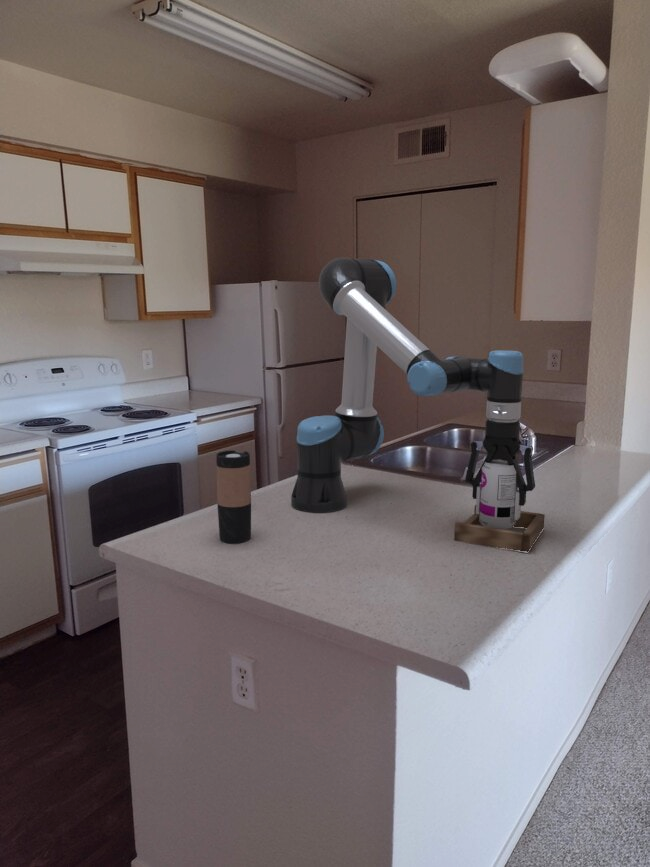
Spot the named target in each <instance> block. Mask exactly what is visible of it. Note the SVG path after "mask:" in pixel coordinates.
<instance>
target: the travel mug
mask: <svg viewBox="0 0 650 867" xmlns="http://www.w3.org/2000/svg"><path fill="white" fill-rule="evenodd" d="M215 458H216V459H215V460H216V497H217V498H216V499H217V502H216V503H217V518H218V530H219V531H218V533H219V540H220V541H221V543H222V542H223V543H226V544H235V545H236V544H242V543H245V542H248V541H250V540H251V536H252V535H251V534H252V490H251V489H252V488H251V487H252V486H251V484H252V483H251V480H252V479H251V460H250V459H251V454H250V453H249V451H247V450H246V451H245V450H244V451H243V452H237V451H236V450H233V449H232V450H224V451H219V452H217V453H216V457H215Z"/></svg>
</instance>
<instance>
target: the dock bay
mask: <svg viewBox="0 0 650 867" xmlns="http://www.w3.org/2000/svg"><path fill="white" fill-rule="evenodd" d="M473 510H474V511H473V512H474V513H473V514H472V515H471V516H470V517H469V518H468V519H467V520H466V521H465V522H460V521H456V522H455V523H454V538H453V539H454V541H456V542H461V543H467V544H472V545H473V544H474V545H478V546H483V547H488V546H490V547H489V548H493V547H498V548H497V549H499V548H505V549H506V548H507V549H513V550H520V551H527V552H528V551H529V549H530V548H531V546H532V545H533V543H534V542H535V540H536V539H537V537H538V536H539V534H540V532H541V531H542V529H543V528H544V527H545V515H546V514H545V513H544V514H543V513H539V512H538V513H537V512H531V511H525V510H521V512H520V518H519V519H518V520H516V524H515V525H514V527H524V528H527V529H526V530H525V529H524V532H520V531H515V530H510V529H497V528H491V527H485V526H483V525H479V524H480V523H481V522H480V521H479V516H480V514H476V504H475V505H474V509H473ZM539 537H540V536H539ZM537 540H538V539H537ZM535 543H536V542H535ZM533 546H534V545H533ZM531 549H532V548H531ZM529 552H530V551H529Z"/></svg>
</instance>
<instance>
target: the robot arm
mask: <svg viewBox="0 0 650 867" xmlns="http://www.w3.org/2000/svg"><path fill="white" fill-rule="evenodd" d="M318 290H319V293H320V295H321V298H322V299H323V300H324V302H325V303H326V305H327V306H328V307H329V308H330V309H331V310H332V311H333V312H334V313H336V314H337V315H339V316H345V317H346V330H345V344H344V357H343V358H344V359H343V360H344V361H343V373H342V375H343V376H342V388H341V389H342V390H341V402H340V405H339V406H338V407H337V408H335V413H334V415H327V414H325V415H320V416H318V415H316V416H311V417H308V418H305V419H303V420H302V421H299V424H298V426H297V435H296V447H297V448H296V452H297V453H296V454H297V459H296V460H297V468H296V469H297V478H296V480H295V483H294V487H293V489H292V493H291V498H290V501H291V502H290V505H291V507H292V508H294V509H296V510H299V511H301V512H302V511H303V512H309V513H330V512H336V511H340V510H343V509H345V507H347V506H348V494H347V492H346V491H347V490H346V489H345V486H344V482H343V479H342V471H341V470H342V463H344V462H347V461H352V460H356V459H363V458H366V457H368V456H371V455H373V454H375V453H376V452H377V451H378V450H379V449H380V448H381V446H382V444H383V442H384V437H385V432H384V426H383V425H382V424H381V423H382V421H381V420H380V418H378V411H377V410H376V409H375V408H374V407H373V401H374V388H375V375H376V362H377V361H376V360H377V350H378V349H379V350H381V351H382V352H383V353H384V354H385V355H386V356H387V357H388V358H389V359H390V360H391V361H392V362H393V363H395V365H397V366H398V367H399V368H400V369H401V370H402V371H403V372H404V373H405V374H406V375H407V384H408V386H409V388H410V390H411V391H412V392H413V393H414V394H416V395H417V396H420V397H421V396H422V397H426V396H427V397H428V396H429V397H432V396H433V397H435V396H438V395H442V394H447V393H454V392H461V391H477V392H486V412H485V416H486V418H487V420H485V432H484V439H483V440H478V439H477V440H474V441H472V442H471V443H470V450H471V454H470V457H469V461H468V465H467V470H466V474H465V479H464V481H465V482H466V483H468V484H471V485H472V499H473V500H475V503H476V504H475V505H476V514H480V495H481V474H482V467H483V465H484V464H485V462H486V463H490V462H491V461H492V460H499V459H500V460H503V461H507V462H508V464H509V465H514V468H515V470H516V483H517V486H518V491H517V492H516V497H515V514H514V520H518V519H519V518H520V512H521V511H522V510H521V508H522V507H523V506H525V505H526V502H527V492H532V491H533V490H534V489H535V487H536V480H535V473H534V465H533V458H532V455H533V452H534V447H533V446H531V445H529V446H527V445H523V444H521V441H520V432H521V431H520V429H521V422H520V420H519V419H521V416H522V414H521V413H522V391H523V377H524V373H525V371H524V354H523V353H522V352H521V351H519V350H502V349H501V350H498V349H497V350H492V351H490V352H489V355H488V358H479V357H465V356H460V355H459V356H448V357H447V358H445V359H441V358H440V357H439V356H437V355H436V354H435V353H434V352H433V351H432V350H430V348H428V347H427V346H426V345H425V344H424V343H423V342H422V341H421V340H419V339H418V338H417V336H416V335H414V334H413V333H412V332H411V331H410V330H408V329H407V328H406V327H405V326H404V325H403V324H402V323H401V322H400V321H398V319H397V318H395V317H394V316H393V315H392V314H391V313H390V312H389V311H387V309H386V308H387V306H386V305H387V304H389V303H390V302H391V300H392V298H394V296H395V294H396V292H397V281H396V276H395V274H394V271H393V270H392V268H391V267H390V266H389V265H388V264H387V263H385V262H384V261H381V260H376V259H371V258H353V257H352V258H351V257H338V258H337V257H336V258H334V259H332V260H330V261H329V262H327V264H326V265H324V266H323V267H322V270H321V271H320V273H319V278H318ZM482 448H484V450H485V451H486V453H487V454H486V457H485V458H484V461H483V462H482V464H481V467H480V468H479V470H478V472H477V474H476V476H475V472H476V469H477V468H476V467H477V464H478V460H479V455H480V451H481V450H483V449H482ZM519 451H521V455H522V456H523V463H524V471H525V472H524V473H525V478H526V481H525V478H524V476H523V474H522V471H521V469H520V467H519V462H518V458H517V456H516V454H517V453H518V452H519Z"/></svg>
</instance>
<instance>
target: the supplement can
mask: <svg viewBox="0 0 650 867" xmlns="http://www.w3.org/2000/svg"><path fill="white" fill-rule="evenodd" d="M480 484H481V495H480V516H479V521H480V522H479V523H480V524H481V526H485V527H491V528H497V529H503V530H510V529H511V528H513V526H514V525H515V524H516V520H514V514H515V497H516V492H517V491H518V490H519V489H518V486H517V483H516V470H515V468H514V465H509V464H508V462H507V461H503V460H500V459H499V460H492V461H491V462H490V463H486V462H485V464H484V465H483V467H482V474H481V483H480Z"/></svg>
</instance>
